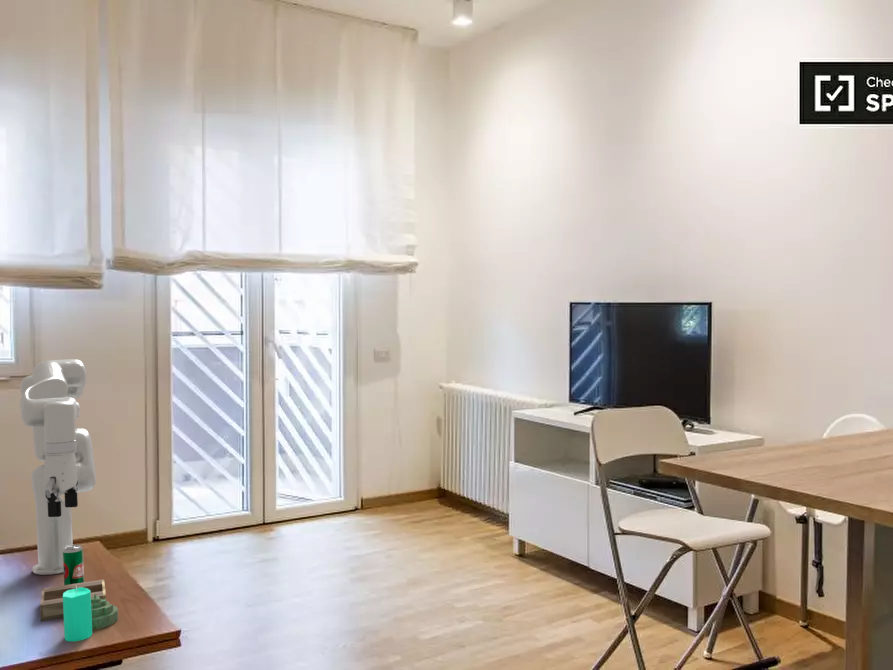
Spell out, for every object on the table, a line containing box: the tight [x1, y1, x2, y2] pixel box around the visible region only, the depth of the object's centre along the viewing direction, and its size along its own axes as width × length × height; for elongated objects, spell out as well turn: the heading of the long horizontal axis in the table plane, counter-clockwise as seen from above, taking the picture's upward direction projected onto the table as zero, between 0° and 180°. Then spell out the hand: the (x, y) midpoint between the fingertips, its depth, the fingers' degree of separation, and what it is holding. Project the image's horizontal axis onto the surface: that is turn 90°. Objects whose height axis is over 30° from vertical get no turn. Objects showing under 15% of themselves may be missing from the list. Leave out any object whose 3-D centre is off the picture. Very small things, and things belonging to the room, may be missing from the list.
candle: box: [63, 586, 93, 642], centre depth 190 cm, size 6×6×12 cm
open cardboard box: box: [39, 579, 107, 622], centre depth 209 cm, size 14×15×4 cm
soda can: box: [63, 544, 85, 585], centre depth 223 cm, size 5×5×12 cm
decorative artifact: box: [91, 594, 119, 631], centre depth 199 cm, size 10×7×10 cm
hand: (63, 511), depth 215 cm, fingers open, 9 cm apart
